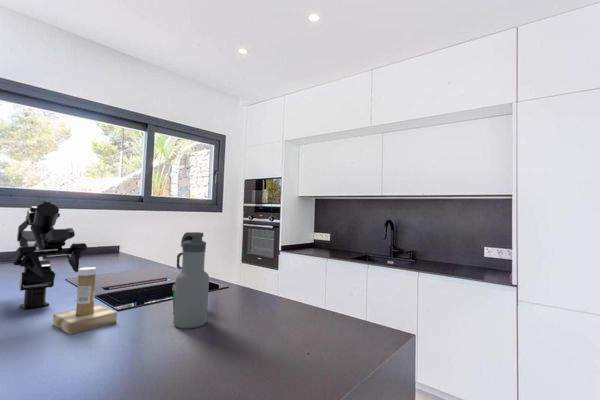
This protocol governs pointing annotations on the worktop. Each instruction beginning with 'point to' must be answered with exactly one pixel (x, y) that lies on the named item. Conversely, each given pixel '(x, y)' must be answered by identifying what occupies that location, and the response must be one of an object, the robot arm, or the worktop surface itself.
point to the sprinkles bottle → (86, 290)
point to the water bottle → (191, 283)
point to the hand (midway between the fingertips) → (61, 273)
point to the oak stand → (84, 319)
